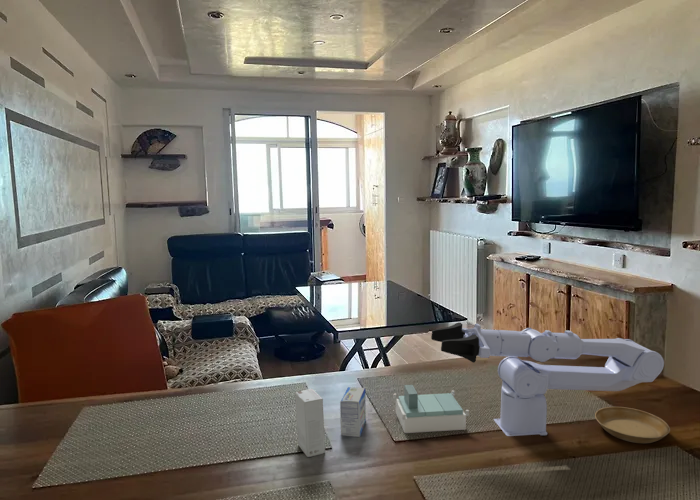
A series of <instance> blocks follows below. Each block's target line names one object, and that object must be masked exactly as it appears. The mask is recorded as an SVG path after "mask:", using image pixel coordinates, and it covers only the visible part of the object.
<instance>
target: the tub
mask: <svg viewBox="0 0 700 500" xmlns="http://www.w3.org/2000/svg"><path fill="white" fill-rule="evenodd" d="M450 393H451V394H452V395H453V397H455V390H451V391H450ZM392 396H393V400H395V414H396V416H397V419H398V421H399V423H400V427H402V428H401V429H402V431H403V433H404V434H412V433H413V434H415V433H416V434H417V433H430V432H445V431H446V432H447V431H448V432H449V431H459V430H460V431H461V430H463V431H464V430H466V425H467V424H466V422H467V417H469V416H470V411H469V409H465V411H463V414H457V415H440V416H423V417H406V414H405V413H404V411H403V409H402V406H401V404H400V402H399V400H398V398H397V393H396V392H395V393H393V395H392Z"/></svg>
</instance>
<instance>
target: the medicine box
mask: <svg viewBox="0 0 700 500" xmlns="http://www.w3.org/2000/svg"><path fill="white" fill-rule="evenodd" d="M366 398H367V397H366V388H364V387H355V386H348V387H347V388H346V390H345V392H344V394H343V395H342V398H341V400H340V402H339V403H340V404H339V408H340V409H339V411H340V412H339V414H340V416H339V417H340V418H339V419H340V436H346V437H355V438H356V437H358V438H359V437H361V435H362V432H363V430H364V427H365V424H366V421H367V420H366V419H367V416H366V415H367V414H366V413H367V412H366V409H367V407H366V406H367V405H366V404H367V403H366V402H367V401H366V400H367V399H366Z"/></svg>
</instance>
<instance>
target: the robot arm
mask: <svg viewBox="0 0 700 500" xmlns="http://www.w3.org/2000/svg"><path fill="white" fill-rule="evenodd" d="M481 327H482V326H481V325H480V324H479V323H475V324H474V327H472V328H471V327H470V328H468V327H463V323H461V322H455V324H452V325H450V326H447V327H443V328H436V329H433V330H431V335H430V336H431V337H430V339H431V340H432V341H434V342H439V343H441V347H440V351H441V352H442V353H446V354H451V355H455V356H458V357H461V358H463V359H465V360H468V361H470V363H474V364H475V363H476V360H477V357H479V358H480V359H481V358H483V359H484V358H486V359H489V358H490V356H491V357H504V358H503V359H502V360H500V362H499V364H498V366H497V374H498V377H499V378H500V379H501V380H502V384H501V393H500V418H493V421H494V423H496V425H498V427H499V428H500V430H502V432H503V434H505V436H507V437H514V436H515V437H516V436H531V435H532V436H533V435H535V436H536V435H540V436H547V435H548V431H547V415H548V414H547V412H548V408H547V407H548V405H547V398H546V396H545V394H546V393H547V391H548V390H565V391H566V390H568V391H569V390H570V391H571V390H572V391H594V392H595V391H597V392H598V391H599V392H600V391H601V392H602V391H603V392H621V391H624V390H626V389H628V388H631V387H633V386H636V385H638V384H641V383H652V382H654V380H656V379H657V378H658V376H659V375H661V373H662V371H663V369H664V365H665V361H664V357H663V355H661V354H660V353H659V352H657V351H654V350H651V349H649V348H647V347H645V346H643V345H641V344H639V343H637V342H635V341H634V340H632V339H630V338H621V337H617V338H580V336H579V335H578V334H576V333H574V332H573V331H572V330H568V329H567V330H565V331H564V332H552V331H551V330H549V329H546V330H544V331H543V332H540V331H538V330H537V329H533V328H532V327H526V328H524V329H522V330H509V329H508V330H507V329H487V328H486V329H483V328H481ZM581 355H589V356H598V357H608V359H607V361H606V362H605V364H604V367H603V366H581V365H579V366H576V365H551V364H540V363H537V362H541V363H544V362H547V361H548V360H550V359H558V360H559V359H561V360H563V359H564V360H565V359H566V360H577V359H578V358H580V357H581ZM519 357H521V358H529V357H530V358H531V359H533V360H534V361H537V362H534V361H530V360H524V359H523V360H522V359H521V358H519Z"/></svg>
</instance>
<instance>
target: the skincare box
mask: <svg viewBox="0 0 700 500" xmlns="http://www.w3.org/2000/svg"><path fill="white" fill-rule="evenodd" d="M294 396H295V397H294V398H295V399H294V400H295V402H294V403H295V417H296V431H297V433H296V434H297V435H296V436H297V445H298V446H299V448H300V449H301V451H302V452H303V453H304V454H305V456H306V457H307V458H310V457H315V456H320V455H323V454H325V453H326V441H325V440H326V438H325V422H324V421H325V417H324V399H323V397H322V396H320V394H318V392H316V391H315V390H314V389H313V388H308V389H304V390H299V391H295V392H294Z"/></svg>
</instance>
